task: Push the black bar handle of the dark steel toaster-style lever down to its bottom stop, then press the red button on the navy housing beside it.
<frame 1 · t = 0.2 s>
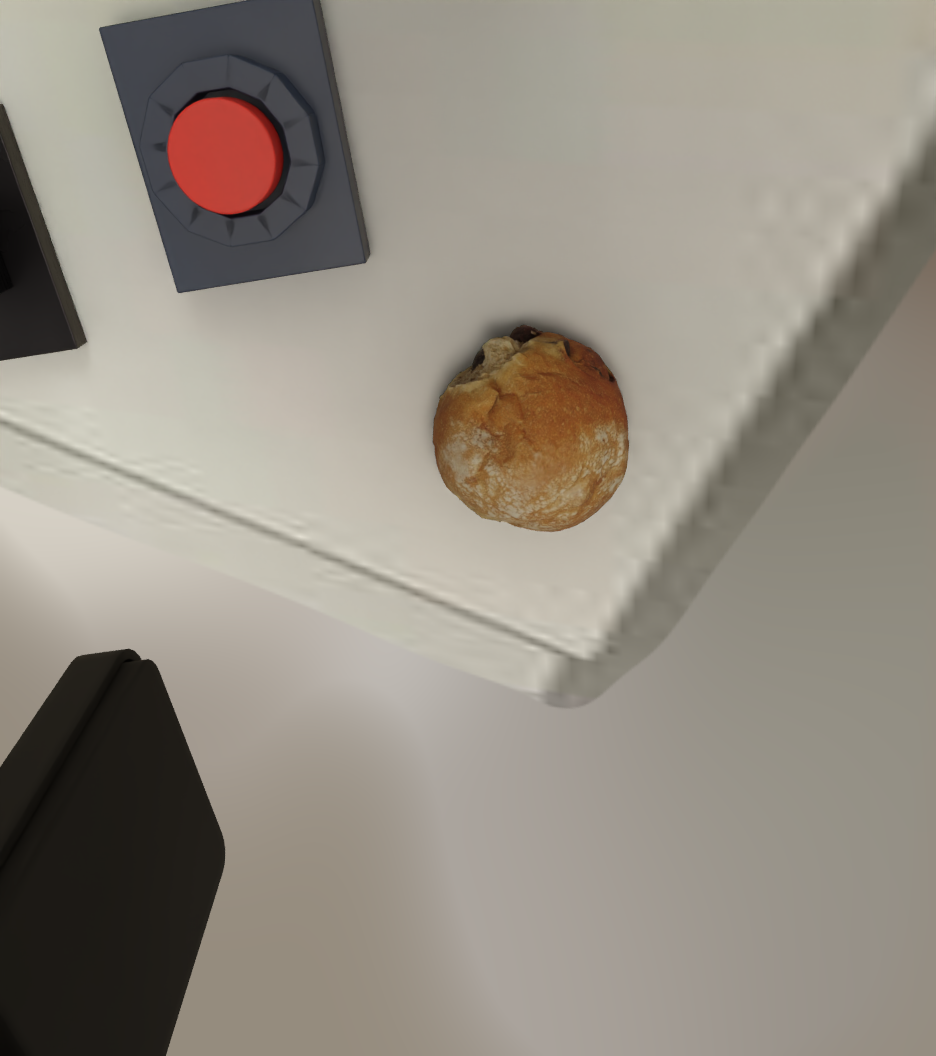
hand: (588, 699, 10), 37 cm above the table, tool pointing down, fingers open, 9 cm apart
bread roll: (528, 418, 47), on the table
button housing: (250, 148, 41), on the table
button: (226, 156, 37), point 4 cm above the table, slide at 0.1 cm
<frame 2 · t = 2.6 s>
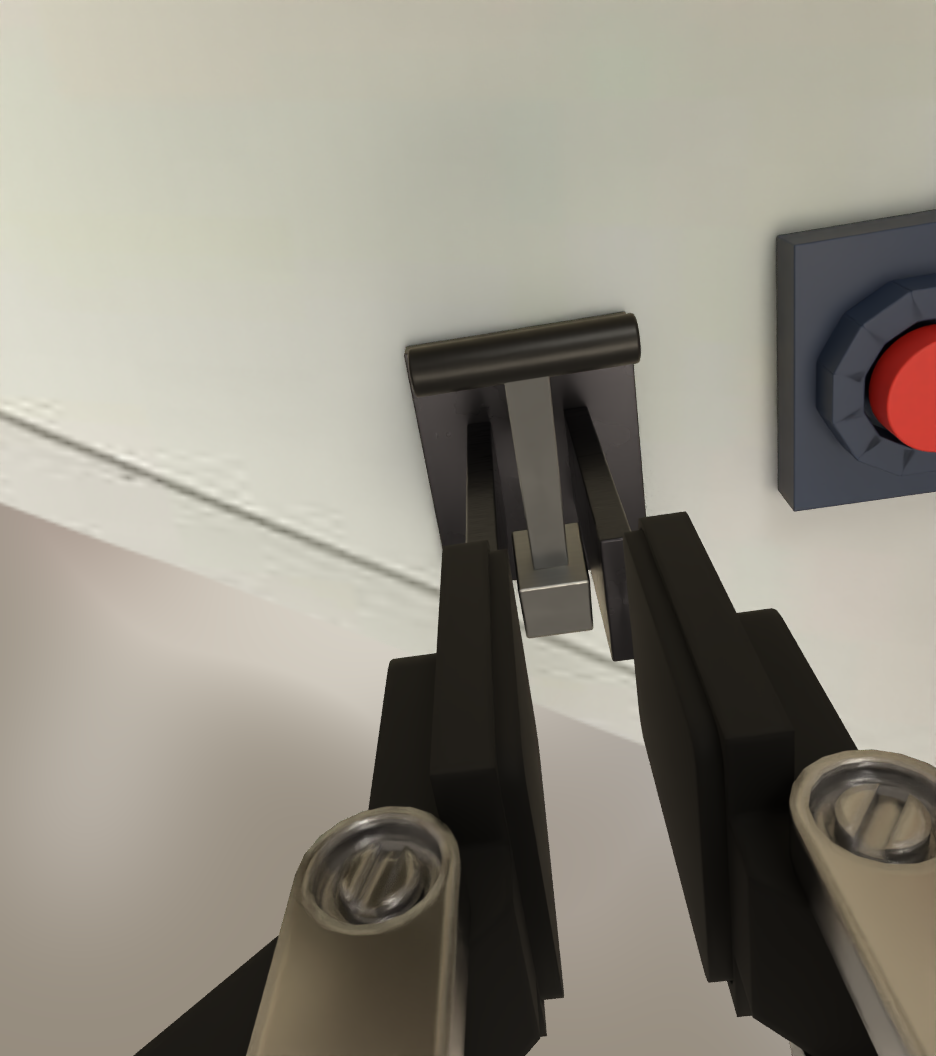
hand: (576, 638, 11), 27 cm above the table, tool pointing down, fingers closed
lever: (541, 493, 26), point 13 cm above the table, hinge at 24.0°
lever bracket: (531, 453, 39), on the table
button housing: (887, 354, 37), on the table
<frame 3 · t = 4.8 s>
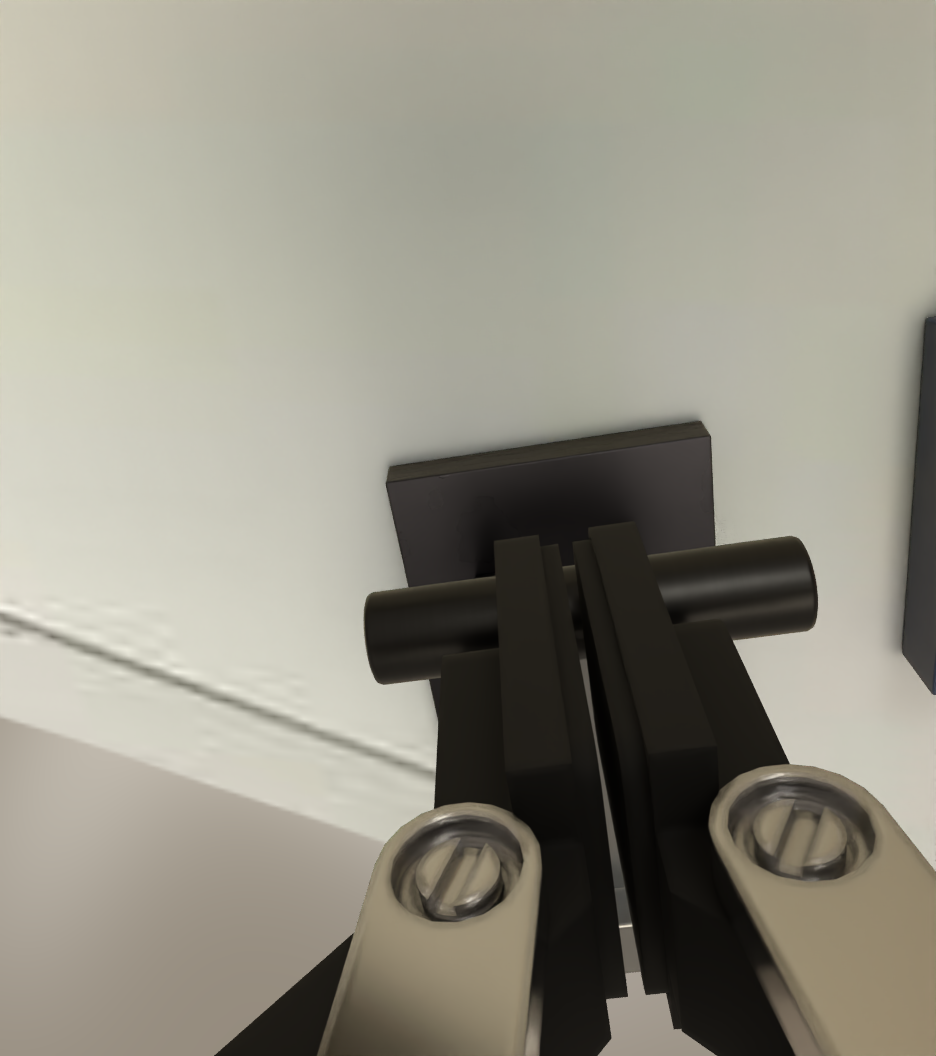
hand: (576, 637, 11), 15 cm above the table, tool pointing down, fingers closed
lever: (602, 794, 15), point 12 cm above the table, hinge at 20.1°, touching gripper
lever bracket: (564, 605, 28), on the table
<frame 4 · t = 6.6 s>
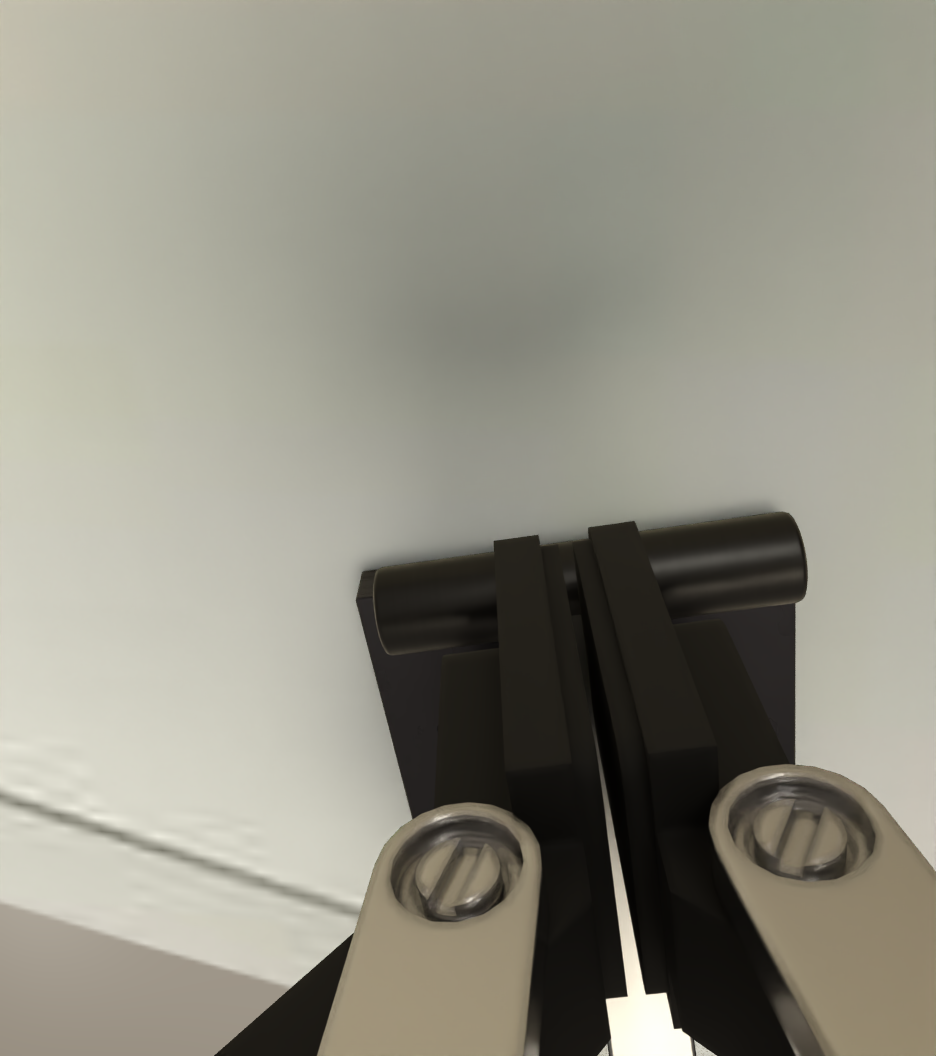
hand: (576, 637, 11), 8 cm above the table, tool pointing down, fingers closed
lever: (638, 967, 12), point 9 cm above the table, hinge at -26.5°, touching gripper
lever bracket: (591, 739, 22), on the table
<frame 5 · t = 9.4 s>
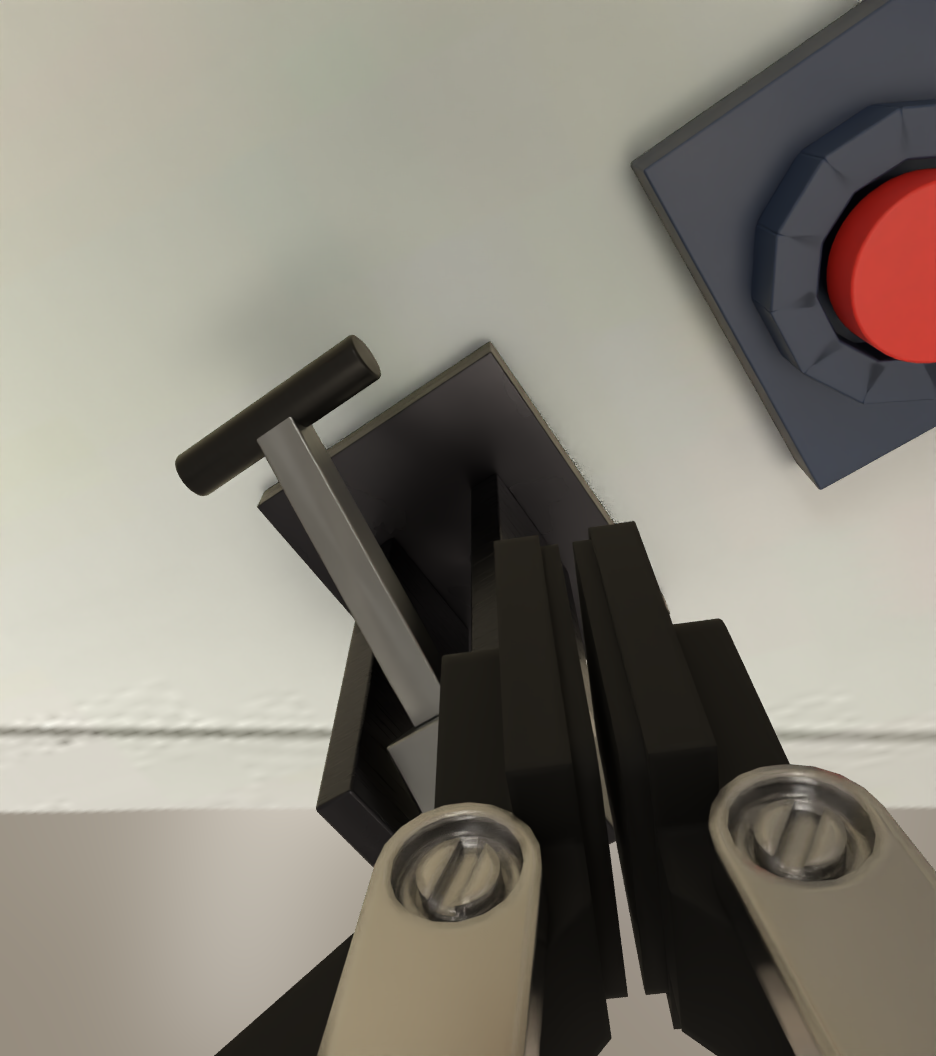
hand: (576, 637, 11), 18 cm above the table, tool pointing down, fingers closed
lever: (379, 603, 21), point 9 cm above the table, hinge at -28.7°
lever bracket: (469, 545, 31), on the table
button housing: (858, 237, 26), on the table
button: (928, 267, 22), point 4 cm above the table, slide at 0.1 cm
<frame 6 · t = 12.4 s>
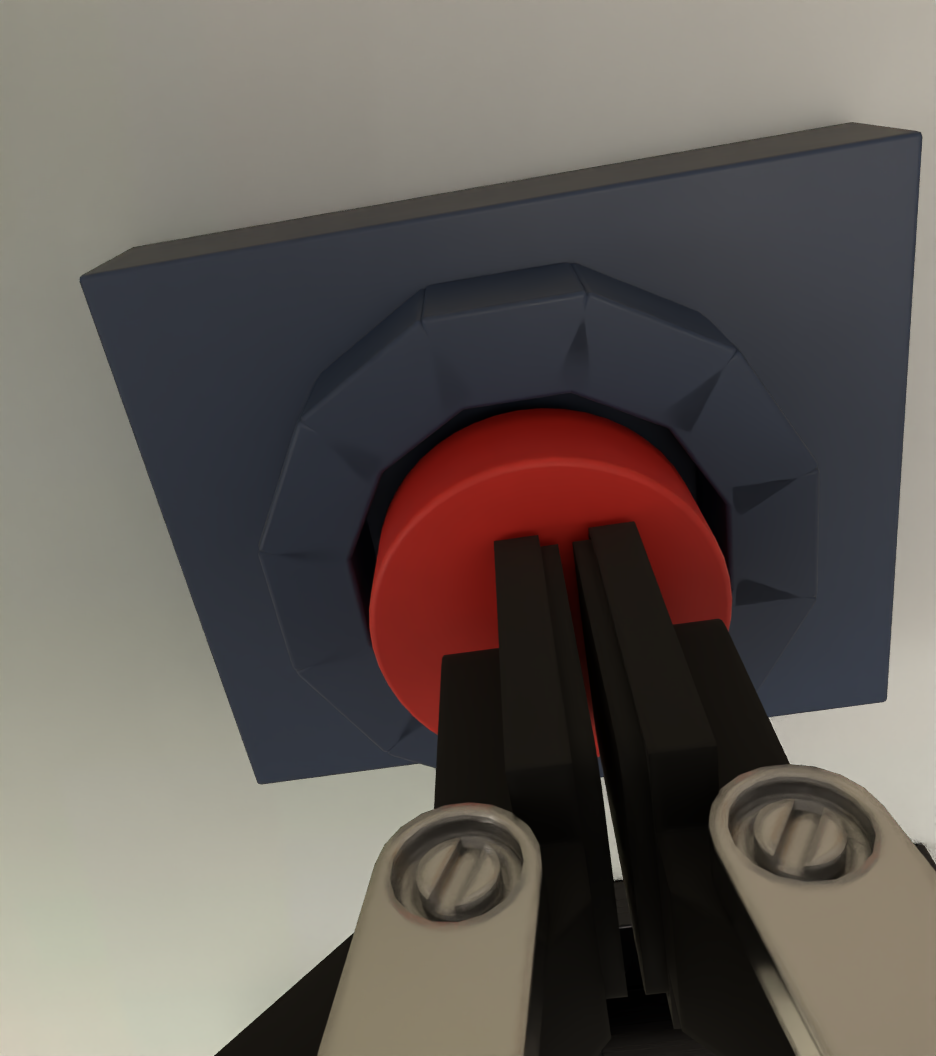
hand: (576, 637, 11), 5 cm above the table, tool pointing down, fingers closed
lever bracket: (684, 1002, 22), on the table
button housing: (522, 459, 15), on the table
button: (544, 590, 12), point 4 cm above the table, slide at 0.0 cm, touching gripper
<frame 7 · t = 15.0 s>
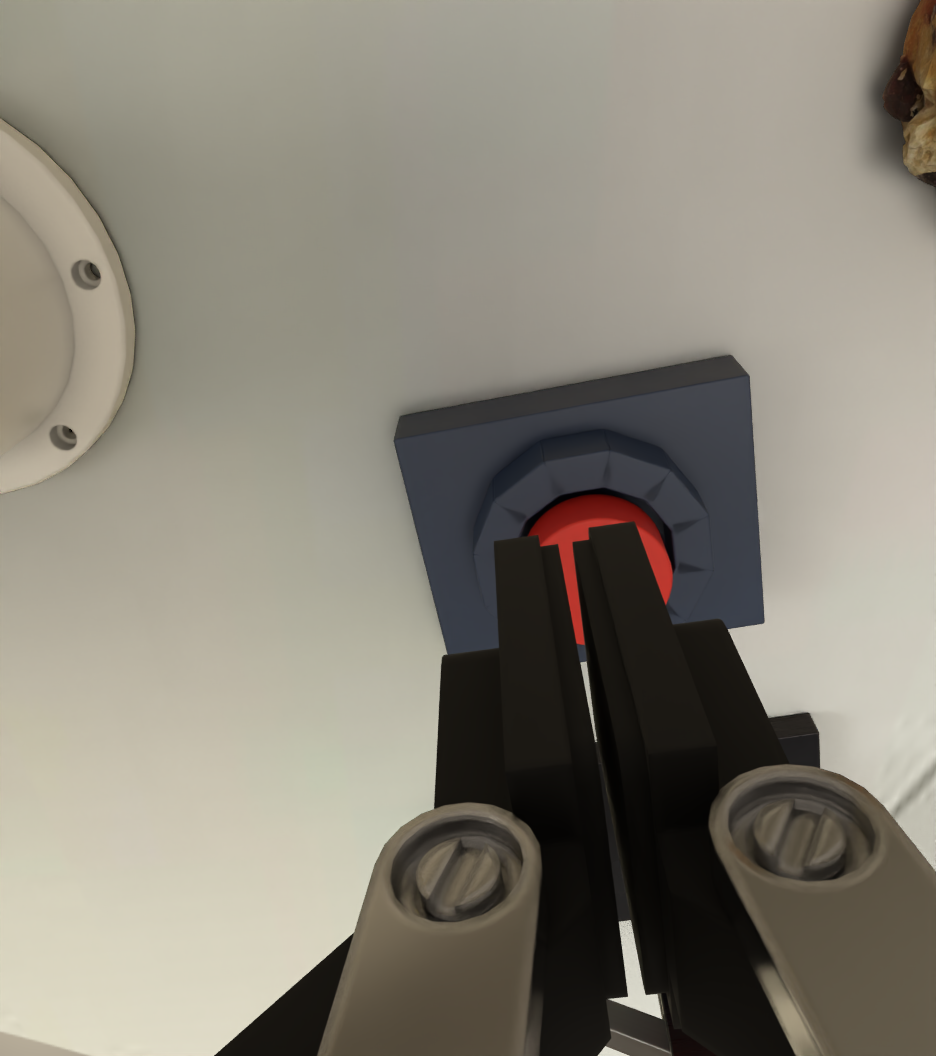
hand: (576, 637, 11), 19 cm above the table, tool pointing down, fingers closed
lever: (615, 1025, 30), point 9 cm above the table, hinge at -28.7°
lever bracket: (679, 815, 38), on the table
button housing: (581, 507, 31), on the table
button: (595, 570, 27), point 4 cm above the table, slide at 0.1 cm
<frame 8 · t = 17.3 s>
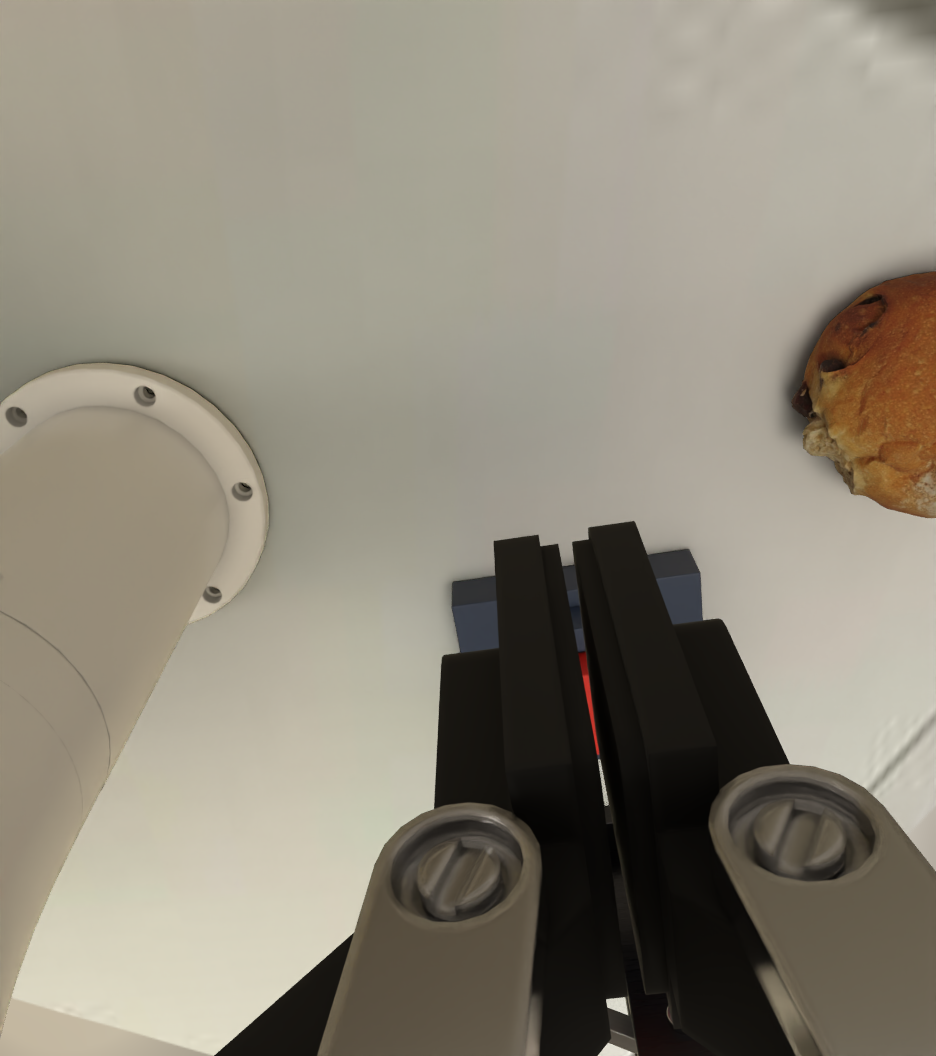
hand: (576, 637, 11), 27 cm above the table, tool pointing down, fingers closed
bread roll: (908, 379, 38), on the table
lever: (595, 1020, 42), point 9 cm above the table, hinge at -28.7°
lever bracket: (644, 862, 50), on the table
button housing: (579, 645, 43), on the table
button: (591, 703, 39), point 4 cm above the table, slide at 0.1 cm
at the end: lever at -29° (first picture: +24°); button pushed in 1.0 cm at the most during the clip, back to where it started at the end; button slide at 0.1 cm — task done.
